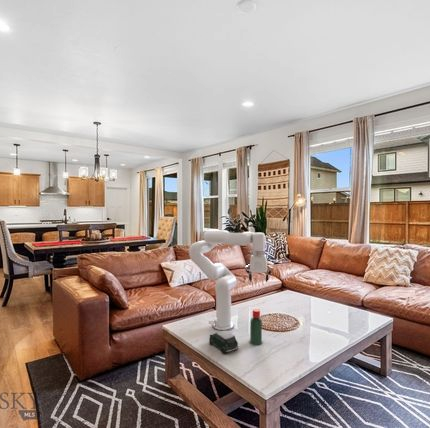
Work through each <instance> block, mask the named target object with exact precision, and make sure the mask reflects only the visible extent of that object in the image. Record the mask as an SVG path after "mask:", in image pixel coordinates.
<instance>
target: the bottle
mask: <svg viewBox="0 0 430 428" xmlns="http://www.w3.org/2000/svg"><path fill="white" fill-rule="evenodd" d="M262 319H263V318H261V316H260V317H259V318H254V317H253V316H252V317H251V318H250V331H249V335H250V337H249V338H250V339H249V340H250V341H249V342H250V344H251V345H254V346H259V345H261V344H262V341H263V340H262V338H263V334H262V333H263V331H262V330H263V320H262Z"/></svg>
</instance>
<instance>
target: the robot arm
mask: <svg viewBox="0 0 430 428" xmlns="http://www.w3.org/2000/svg"><path fill="white" fill-rule="evenodd" d="M202 237H203V240H200V241H195V242H193V243H192V244H190V246H189V248H188V256H189V258H190V260H191V261H192V262H193V263H194V264H195V265H196V266H197V267H198V268H199V270H200V271H201V272H202V273H203V274H204V275H205V277H207V279H209V280H210V281H215V280H216V281H215V284H214V290H215V314H216V315H215V318H214V319H213V320H208V325H211V326H213V328H214V329H216V330H218V331H228V330H231V329H232V328H234V323H233V322H232V294H231V290H233V289H234V288H235V287H236V286H237V284H238V282H237V281H238V280H237V277H236V276H235V275H234V274H233V273H232V272H231V271H230V270H229V268H227V266H225V265H224V264H223V263H220V262H216V263H214V262H212V261H211V259H210V258H208V257H207V256H206V255H204V254H206V253H209V252H210V251H211V250H212V249H214V247H215V246H217V244H218V245H219V244H221V245H229V246H241V247H242V246H247V245H250V244H252V245H251V247H252V250H250V251H249V254H251V255H250V259H249V260H250V261H249V264H248V265H246V266H244V270H245V272H246V273H247V275H248V280H249V282H252V281H253V274H252V273H261V274H263V273H264V274H265V283H268V281H269V280H270V279H269V276H270V274H271V273H272V272H273V271H274V267H273V266H270V265H269V264H268V260H267V255H266V236H265V233H264V232H253V231H244V232H230V231H228V230H224V229H223V230H219V229H217V228H214V229H208V230H206V231H205V232H204V233H203V235H202ZM268 269H269V270H268Z"/></svg>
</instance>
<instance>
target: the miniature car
mask: <svg viewBox="0 0 430 428" xmlns="http://www.w3.org/2000/svg"><path fill="white" fill-rule="evenodd" d="M208 340H209V341H208V342H209V345H214V346H216V347H217V348H219V349H220V350H221V352H222V354H226V353H227V352H231V351H234V350H237V349H238V348H240V346H239V342H238V340H237V339H236V335H234V334H233V333H231V332H230V331H228V330H220V331H219V332H215V333H213V334H210V335H209V338H208Z"/></svg>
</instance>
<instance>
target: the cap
mask: <svg viewBox="0 0 430 428" xmlns="http://www.w3.org/2000/svg"><path fill="white" fill-rule="evenodd" d="M252 317H254V318H259V317H260V318H261V309H259V308H254V309H252Z"/></svg>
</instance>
